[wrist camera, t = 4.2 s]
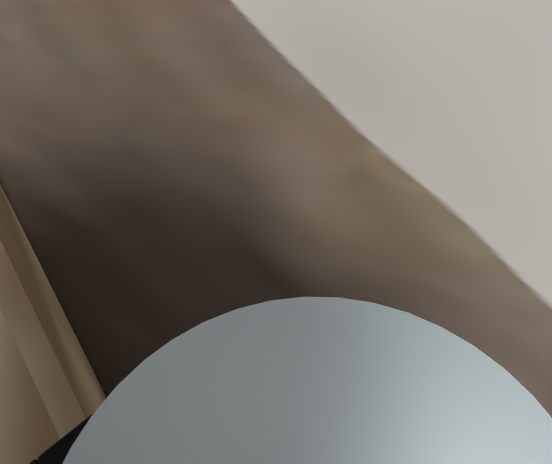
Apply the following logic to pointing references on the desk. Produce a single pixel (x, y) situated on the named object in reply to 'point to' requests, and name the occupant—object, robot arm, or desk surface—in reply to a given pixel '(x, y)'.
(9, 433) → the tray
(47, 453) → the robot arm
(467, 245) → the desk surface
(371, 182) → the desk surface
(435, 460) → the white rounded cylinder
